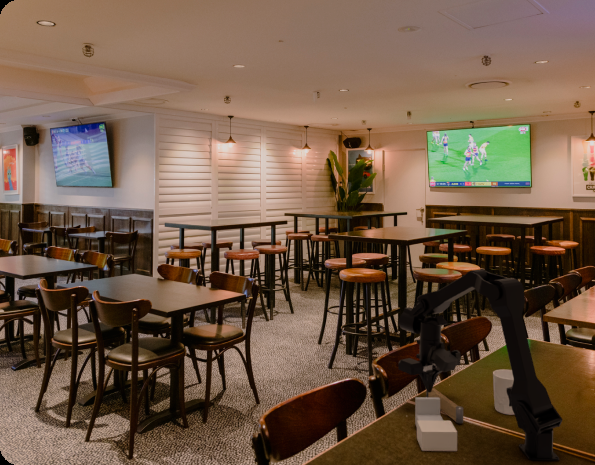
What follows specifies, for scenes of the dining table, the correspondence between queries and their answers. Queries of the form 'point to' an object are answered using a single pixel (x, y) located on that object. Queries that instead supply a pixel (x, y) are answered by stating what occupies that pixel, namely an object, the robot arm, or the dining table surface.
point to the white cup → (502, 390)
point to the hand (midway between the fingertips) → (429, 392)
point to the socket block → (436, 435)
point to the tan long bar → (448, 406)
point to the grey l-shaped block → (427, 409)
